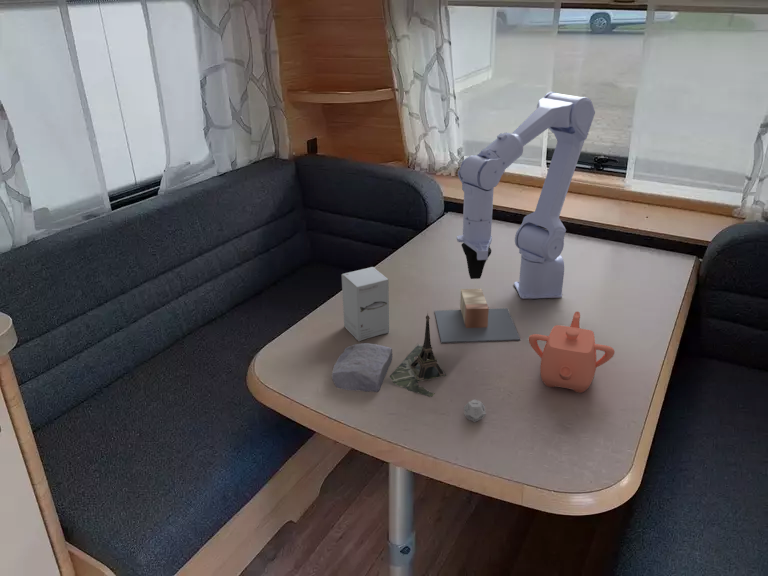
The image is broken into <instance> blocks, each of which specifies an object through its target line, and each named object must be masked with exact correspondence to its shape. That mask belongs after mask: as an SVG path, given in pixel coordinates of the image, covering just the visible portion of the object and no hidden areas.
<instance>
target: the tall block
mask: <svg viewBox="0 0 768 576" xmlns="http://www.w3.org/2000/svg"><path fill="white" fill-rule="evenodd" d="M459 301H460V303H459V304H460V305H459V307H460V309H459V310H461V312H462V316H463V319H464V323H465V326H466V328H482V327H488V311H489V309H490V308H489V306H488V302H487V300H486V298H485V294H484V292H483V289H482V288H466V289H465V288H461V289H460V300H459Z"/></svg>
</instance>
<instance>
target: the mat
mask: <svg viewBox="0 0 768 576" xmlns="http://www.w3.org/2000/svg"><path fill="white" fill-rule="evenodd" d="M434 314H435V319H436V324H437V329H438V335H439V339H440V344H447V343H449V344H452V343H453V344H455V343H479V342H481V343H483V342H484V343H485V342H487V341H488V342H509V341H510V342H511V341H515V342H516V341H517V342H518V341H521V337H520V335H519V333H518V331H517V328H516V326H515V323H514V320H513V318H512V316H511V313H510V312H509V308H506V307H505V308H504V307H503V308H489V311H488V327H482V328H466V326H465V323H464V319H463V316H462V312H461V309H448V310H447V309H446V310H445V309H444V310H441V309H440V310H434Z"/></svg>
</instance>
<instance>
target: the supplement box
mask: <svg viewBox="0 0 768 576" xmlns="http://www.w3.org/2000/svg"><path fill="white" fill-rule="evenodd" d="M341 290H342V307H343V308H342V311H343V328H345V329H346V330H347V331H348V332H349V333H350V335H352V336H353V337H354V339H356V341H358V342H360V341H364V340H367V339H370V338H374V337H377V336H381V335H385V334H389V333H390V307H389V305H390V301H389V294H390V293H389V291H390V290H389V278H388V277H386V276H385V275H384V274H383V273H382V272H380V271H379V270H377V269H376V268H375V267H374V266H370V267H367V268H361V269H358V270H357V269H356V270H354V271H349V272H345V273H342V274H341Z"/></svg>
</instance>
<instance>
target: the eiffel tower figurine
mask: <svg viewBox="0 0 768 576" xmlns="http://www.w3.org/2000/svg"><path fill="white" fill-rule="evenodd" d="M430 319H431V318H430V315H429V314H427V315H426V316H425V330H424V340H423V344H422V345H421V344H416V346H415V347H414V348H413V349H412V350H411V351H410V353H409V354H408V355H407V356H406V358H404V360H403V361H402V362H401V363H400V364H399V365H398V366H397V367H396V368H395V369H394V371H392V373H391V374H390V375H389V377H390V380H392V384H395V385H396V386H398V387H401V388H405V389H406V390H407V391H409V392H412V393H416V394H421V395H424V396H428V397H431V398H432V397H434V396H435V394H436V392H435V393H434V392H431V391H430V390H428V389H426V388H425V387H424V386H420V385H419V384H418V383H419V382H422V381H427V380H432V379H437V378H441V377H446V376H447V374H446V373H445V371H444V370H443V369H442V367H441V366H440V365H439V363H438V359H437V358H436V356H435V355H434V352H433V351H434V350H433V346H432V342H431V331H430ZM415 357H417V358H416V359H415Z"/></svg>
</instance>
